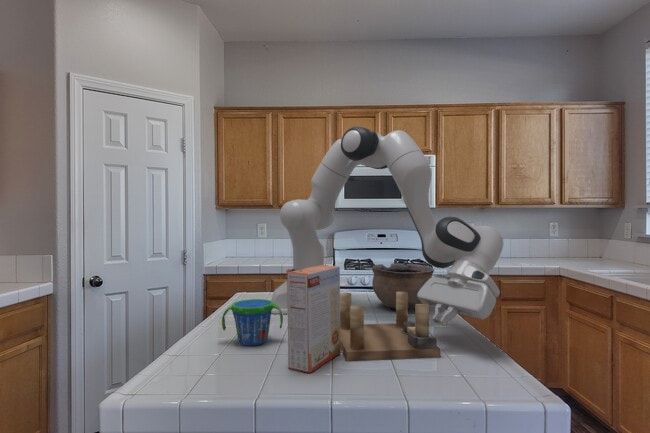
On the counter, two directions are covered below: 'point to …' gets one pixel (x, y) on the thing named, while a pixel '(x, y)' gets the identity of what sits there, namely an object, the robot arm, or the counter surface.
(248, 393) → the counter surface
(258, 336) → the snack cup
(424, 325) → the leg
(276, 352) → the counter surface
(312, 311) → the cracker box
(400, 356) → the stool
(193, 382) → the counter surface
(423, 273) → the ceramic bowl
